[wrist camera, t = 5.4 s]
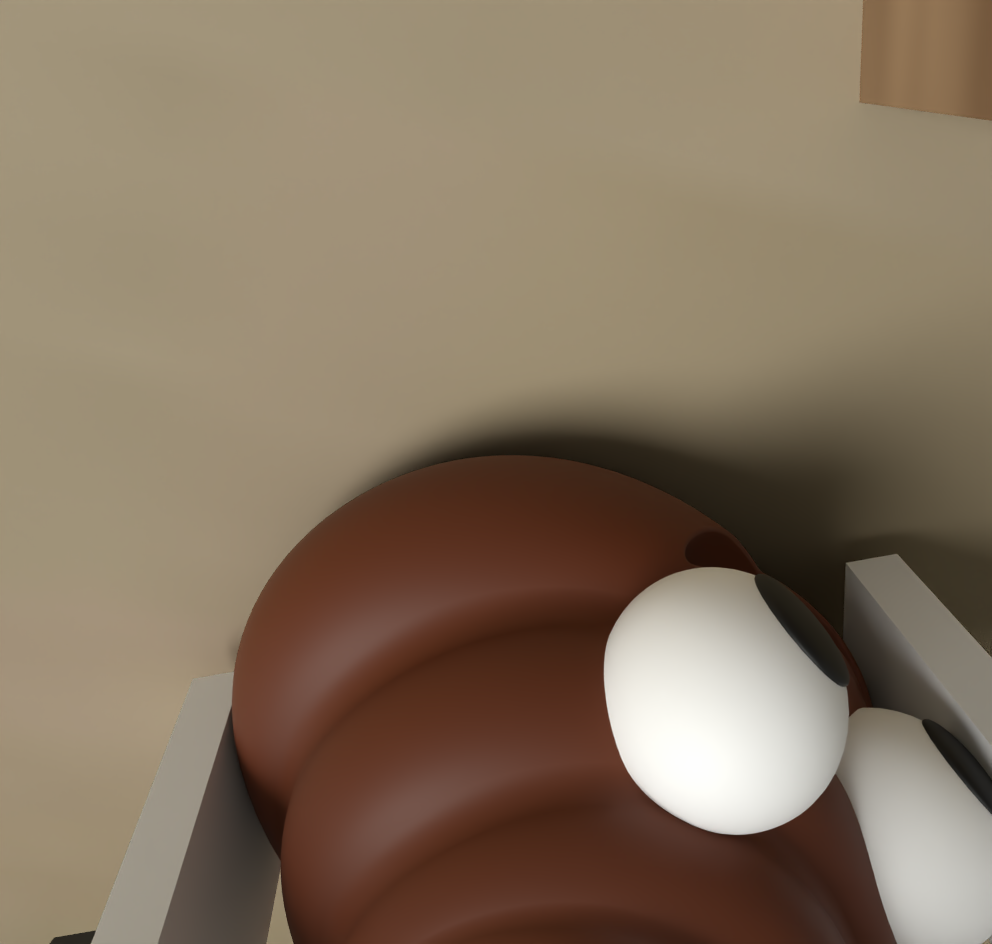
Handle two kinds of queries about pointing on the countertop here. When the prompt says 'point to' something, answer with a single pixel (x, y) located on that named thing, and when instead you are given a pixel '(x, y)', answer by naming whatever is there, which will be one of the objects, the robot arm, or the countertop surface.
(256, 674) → the poop emoji
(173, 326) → the countertop surface
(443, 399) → the countertop surface
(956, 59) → the bottom block
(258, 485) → the countertop surface
